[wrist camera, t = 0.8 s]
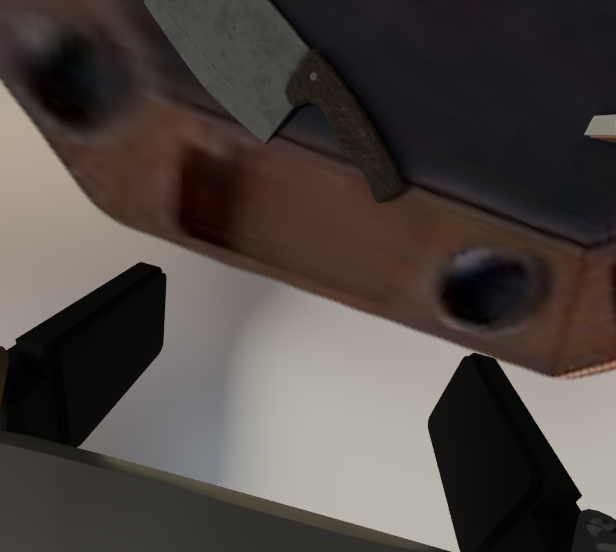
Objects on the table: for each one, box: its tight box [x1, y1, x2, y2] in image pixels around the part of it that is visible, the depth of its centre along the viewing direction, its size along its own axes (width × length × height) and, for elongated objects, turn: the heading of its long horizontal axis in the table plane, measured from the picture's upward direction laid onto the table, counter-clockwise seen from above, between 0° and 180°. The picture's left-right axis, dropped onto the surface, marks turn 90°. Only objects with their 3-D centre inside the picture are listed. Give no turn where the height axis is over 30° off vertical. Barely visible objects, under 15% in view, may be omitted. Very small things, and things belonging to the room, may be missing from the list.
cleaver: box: [144, 0, 403, 203], centre depth 31 cm, size 30×10×2 cm, turn 47°
